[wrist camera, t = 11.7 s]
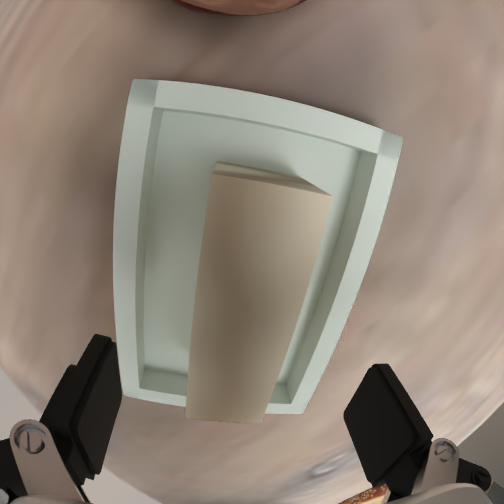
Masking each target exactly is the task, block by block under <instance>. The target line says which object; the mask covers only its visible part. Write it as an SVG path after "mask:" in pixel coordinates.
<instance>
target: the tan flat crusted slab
mask: <svg viewBox="0 0 504 504" xmlns="http://www.w3.org/2000/svg"><path fill="white" fill-rule="evenodd" d="M387 488H388V487H387V484H385V485H383V486H380V487H376V488H371V489H369V490H366V491H364V492H362V493H360V494H358V495H355V496H353V497H351V498H349V499H347V500H346V501H344V502H342V503H339V504H381V503H382V500H383V498H384V496H385V493H386V491H387Z"/></svg>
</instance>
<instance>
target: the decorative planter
mask: <svg viewBox="0 0 504 504" xmlns="http://www.w3.org/2000/svg"><path fill="white" fill-rule="evenodd" d="M172 1H174V2H175V3H177V4H179V5H181V6H183V7H185V8H188V9H191V10H195V11H200V12H206V13H213V14H223V15H260V14H266V13H273V12H279V11H281V10H284V9H287V8H290V7H293V6H296V5H298V4H300V3H302V2H304V1H306V0H172Z"/></svg>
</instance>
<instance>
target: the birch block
mask: <svg viewBox="0 0 504 504" xmlns="http://www.w3.org/2000/svg"><path fill="white" fill-rule="evenodd" d="M332 199H333V196H331V195H330V194H328V193H326V192H325V191H323V190H322V189H320V188H318V187H316V186H315V185H313V184H311V183H310V182H308V181H306V180H305V179H303V178H301V177H299V176H296V175H291V174H286V173H281V172H276V171H271V170H266V169H260V168H255V167H249V166H244V165H238V164H232V163H225V162H219V161H217V164H216V166H215V168H214V171H213V173H212V178H211V184H210V190H209V197H208V203H207V210H206V216H205V223H204V230H203V237H202V245H201V252H200V260H199V268H198V276H197V284H196V293H195V302H194V312H193V321H192V332H191V342H190V354H189V366H188V379H187V393H186V410H185V418H191V419H199V420H209V421H220V422H234V423H256V424H261V421H262V419H263V416H264V414H265V411H266V409H267V406H268V403H269V401H270V398H271V395H272V393H273V390H274V387H275V385H276V382H277V379H278V376H279V374H280V371H281V368H282V365H283V362H284V359H285V357H286V354H287V351H288V348H289V345H290V342H291V339H292V336H293V333H294V330H295V327H296V324H297V321H298V318H299V315H300V311H301V308H302V305H303V302H304V299H305V296H306V292H307V289H308V286H309V282H310V279H311V276H312V272H313V269H314V265H315V262H316V258H317V255H318V251H319V248H320V244H321V241H322V237H323V233H324V230H325V226H326V222H327V218H328V214H329V210H330V206H331V203H332Z"/></svg>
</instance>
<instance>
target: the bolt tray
mask: <svg viewBox="0 0 504 504" xmlns="http://www.w3.org/2000/svg"><path fill="white" fill-rule="evenodd" d="M402 142H403V138H402V137H400V136H397V135H395V134H392V133H390V132H387V131H385V130H382V129H379V128H377V127H374V126H371V125H369V124H366V123H363V122H360V121H357V120H354V119H351V118H348V117H345V116H342V115H339V114H336V113H333V112H329V111H326V110H323V109H319V108H316V107H312V106H309V105H305V104H301V103H297V102H293V101H289V100H285V99H281V98H277V97H272V96H268V95H263V94H258V93H253V92H248V91H242V90H237V89H231V88H225V87H218V86H211V85H204V84H195V83H186V82H176V81H164V80H149V79H132V84H131V89H130V93H129V98H128V104H127V109H126V114H125V120H124V126H123V133H122V140H121V147H120V154H119V163H118V172H117V182H116V194H115V209H114V229H113V293H114V313H115V328H116V340H117V350H118V359H119V367H120V375H121V382H122V389H123V395H124V396H127V397H132V398H137V399H141V400H147V401H152V402H157V403H163V404H169V405H176V406H183V407H186V393H187V379H188V366H189V354H190V342H191V332H192V321H193V312H194V302H195V293H196V284H197V276H198V268H199V260H200V252H201V245H202V237H203V230H204V223H205V216H206V210H207V203H208V197H209V190H210V184H211V178H212V173H213V171H214V168H215V166H216V164H217V161H219V162H225V163H232V164H238V165H244V166H249V167H255V168H260V169H266V170H271V171H276V172H281V173H286V174H291V175H296V176H299V177H301V178H303V179H305V180H306V181H308V182H310V183H311V184H313V185H315V186H316V187H318V188H320V189H322V190H323V191H325V192H326V193H328V194H330V195H331V196H333V199H332V203H331V206H330V210H329V214H328V218H327V222H326V226H325V230H324V233H323V237H322V241H321V244H320V248H319V251H318V255H317V258H316V262H315V265H314V269H313V272H312V276H311V279H310V282H309V286H308V289H307V292H306V296H305V299H304V302H303V305H302V308H301V311H300V315H299V318H298V321H297V324H296V327H295V330H294V333H293V336H292V339H291V342H290V345H289V348H288V351H287V354H286V357H285V359H284V362H283V365H282V368H281V371H280V374H279V376H278V379H277V382H276V385H275V387H274V390H273V393H272V395H271V398H270V401H269V403H268V406H267V409H266V411H265V414H303V412H304V410H305V408H306V406H307V404H308V402H309V400H310V399H311V397H312V395H313V393H314V391H315V389H316V387H317V385H318V383H319V381H320V379H321V377H322V375H323V372H324V370H325V368H326V366H327V364H328V362H329V360H330V358H331V355H332V353H333V351H334V349H335V347H336V344H337V342H338V340H339V337H340V335H341V333H342V331H343V328H344V326H345V323H346V321H347V319H348V316H349V314H350V311H351V309H352V306H353V304H354V301H355V299H356V296H357V293H358V291H359V288H360V286H361V283H362V280H363V277H364V275H365V272H366V269H367V266H368V263H369V260H370V258H371V255H372V252H373V249H374V246H375V243H376V239H377V236H378V233H379V230H380V227H381V223H382V220H383V217H384V213H385V210H386V206H387V203H388V199H389V196H390V192H391V188H392V184H393V180H394V177H395V173H396V168H397V164H398V160H399V156H400V151H401V147H402Z"/></svg>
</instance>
